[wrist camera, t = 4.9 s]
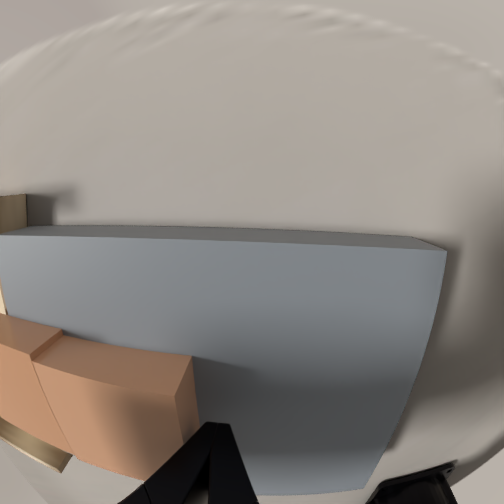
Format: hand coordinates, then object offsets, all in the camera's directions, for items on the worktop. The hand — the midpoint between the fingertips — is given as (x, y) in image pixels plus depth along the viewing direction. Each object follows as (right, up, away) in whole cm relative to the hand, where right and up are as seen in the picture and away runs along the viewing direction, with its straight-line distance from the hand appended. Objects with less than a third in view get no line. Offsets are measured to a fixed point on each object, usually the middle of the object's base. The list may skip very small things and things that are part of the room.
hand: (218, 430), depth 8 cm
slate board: (-1, +1, +3) cm, 4 cm away
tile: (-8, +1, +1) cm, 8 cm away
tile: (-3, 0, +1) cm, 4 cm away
